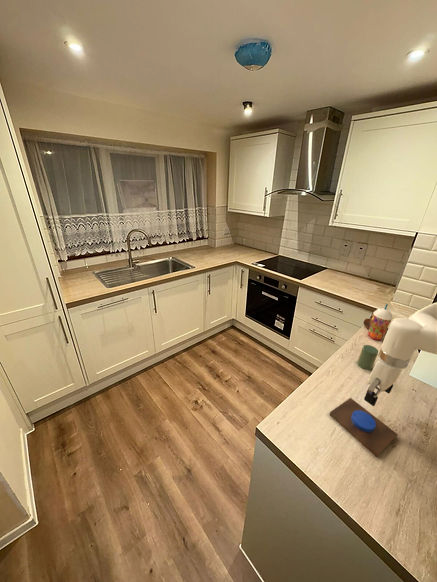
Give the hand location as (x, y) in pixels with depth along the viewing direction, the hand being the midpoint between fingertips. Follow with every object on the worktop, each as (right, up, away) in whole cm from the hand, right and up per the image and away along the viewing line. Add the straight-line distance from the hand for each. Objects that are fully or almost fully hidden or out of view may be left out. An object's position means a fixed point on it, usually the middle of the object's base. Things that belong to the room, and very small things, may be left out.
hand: (376, 396), depth 79 cm
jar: (+12, +2, +26) cm, 29 cm away
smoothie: (+30, +11, +46) cm, 56 cm away
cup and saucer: (+35, +14, +54) cm, 66 cm away
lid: (-5, -7, -1) cm, 9 cm away
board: (-5, -10, 0) cm, 11 cm away
